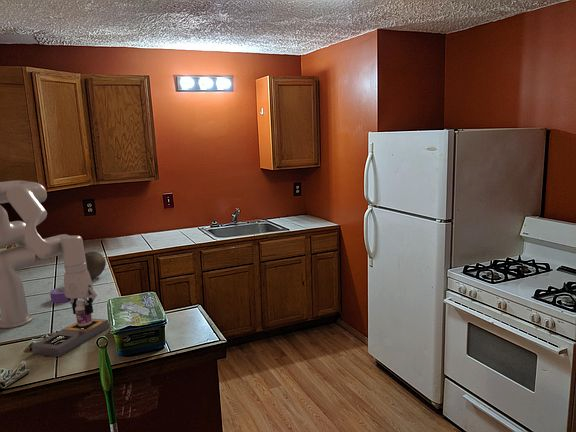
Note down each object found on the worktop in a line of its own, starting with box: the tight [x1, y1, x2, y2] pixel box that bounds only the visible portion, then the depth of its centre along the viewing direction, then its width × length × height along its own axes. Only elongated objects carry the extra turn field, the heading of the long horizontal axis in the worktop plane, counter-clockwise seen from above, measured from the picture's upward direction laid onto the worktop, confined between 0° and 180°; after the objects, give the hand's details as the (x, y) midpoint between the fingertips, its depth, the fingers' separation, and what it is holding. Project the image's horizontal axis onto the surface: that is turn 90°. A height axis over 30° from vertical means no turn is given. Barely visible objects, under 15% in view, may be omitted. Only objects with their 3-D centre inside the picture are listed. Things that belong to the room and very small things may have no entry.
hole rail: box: [31, 318, 110, 358], centre depth 167 cm, size 12×25×3 cm, turn 161°
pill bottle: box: [75, 299, 93, 326], centre depth 172 cm, size 5×5×10 cm
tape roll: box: [49, 285, 70, 304], centre depth 215 cm, size 12×12×5 cm
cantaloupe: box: [85, 251, 107, 280], centre depth 247 cm, size 14×14×15 cm
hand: (83, 312), depth 172 cm, fingers closed on pill bottle, 5 cm apart
